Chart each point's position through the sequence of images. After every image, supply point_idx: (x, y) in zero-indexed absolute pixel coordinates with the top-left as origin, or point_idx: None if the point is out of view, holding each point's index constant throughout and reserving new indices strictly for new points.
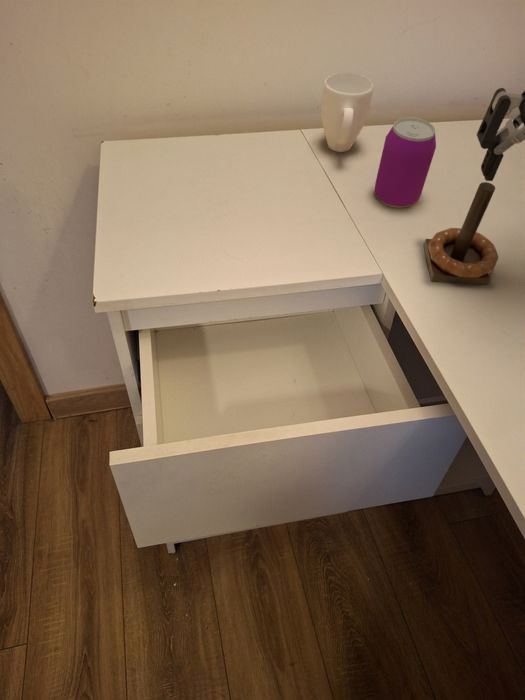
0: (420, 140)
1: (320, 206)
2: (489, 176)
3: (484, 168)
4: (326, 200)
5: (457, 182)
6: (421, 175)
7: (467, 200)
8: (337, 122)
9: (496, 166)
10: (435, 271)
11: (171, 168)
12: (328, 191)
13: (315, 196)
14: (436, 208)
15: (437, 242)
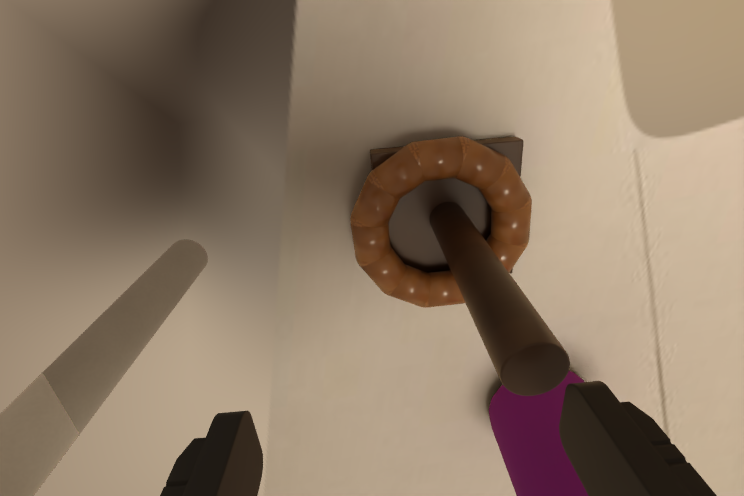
0: None
1: (712, 342)
2: (612, 399)
3: (667, 440)
4: (692, 362)
5: (393, 454)
6: (545, 443)
7: (379, 411)
8: None
9: (638, 458)
10: (514, 156)
11: None
12: (678, 387)
13: (712, 369)
14: (451, 379)
15: (518, 239)
